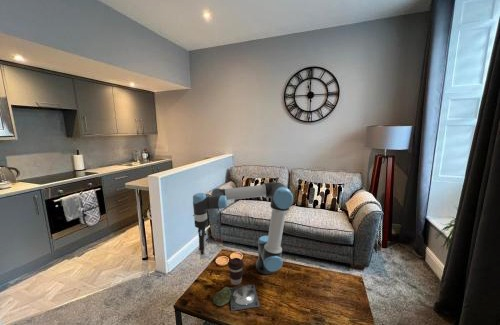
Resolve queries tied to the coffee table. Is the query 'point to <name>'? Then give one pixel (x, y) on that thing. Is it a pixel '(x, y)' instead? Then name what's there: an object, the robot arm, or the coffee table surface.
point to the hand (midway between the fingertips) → (203, 251)
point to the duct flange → (243, 297)
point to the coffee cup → (235, 270)
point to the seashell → (222, 297)
